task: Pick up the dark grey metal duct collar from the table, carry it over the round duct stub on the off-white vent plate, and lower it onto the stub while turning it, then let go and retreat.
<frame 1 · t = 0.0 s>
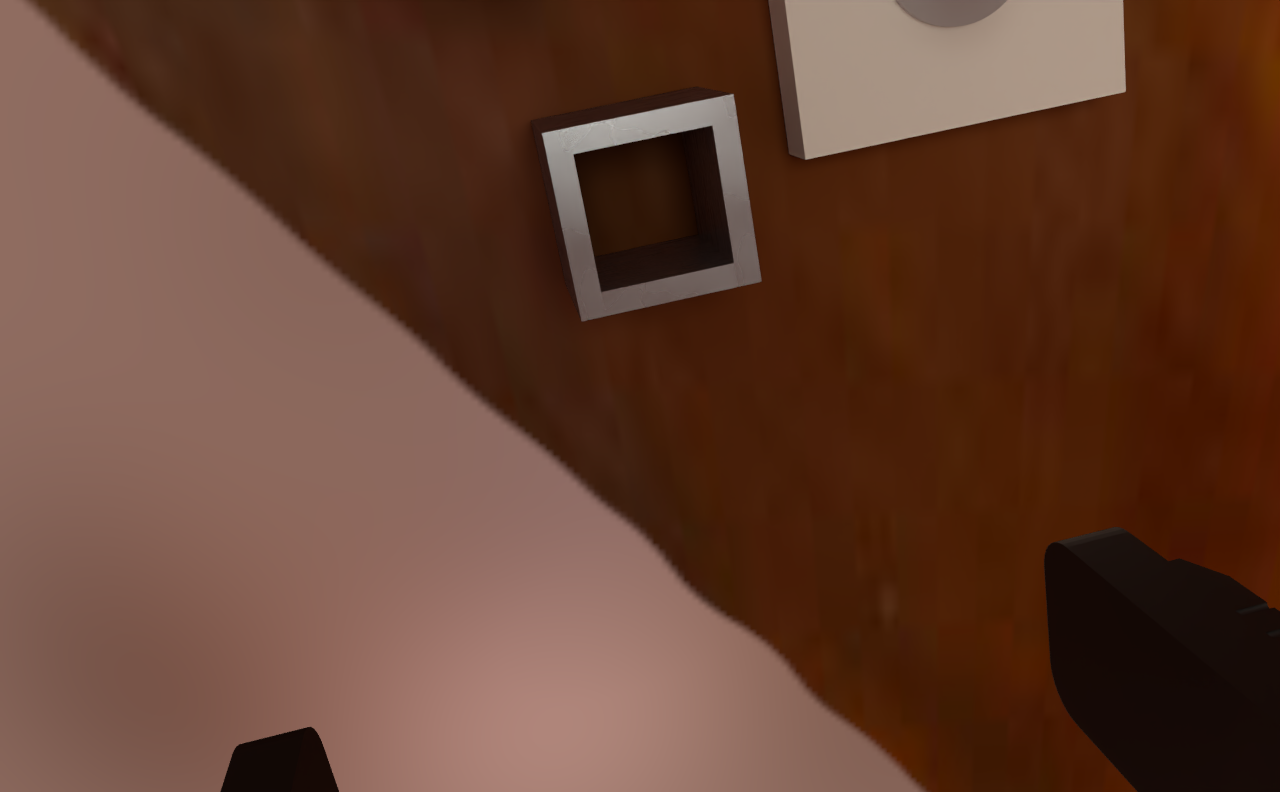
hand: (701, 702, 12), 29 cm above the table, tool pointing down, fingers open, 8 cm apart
collar: (629, 187, 39), on the table
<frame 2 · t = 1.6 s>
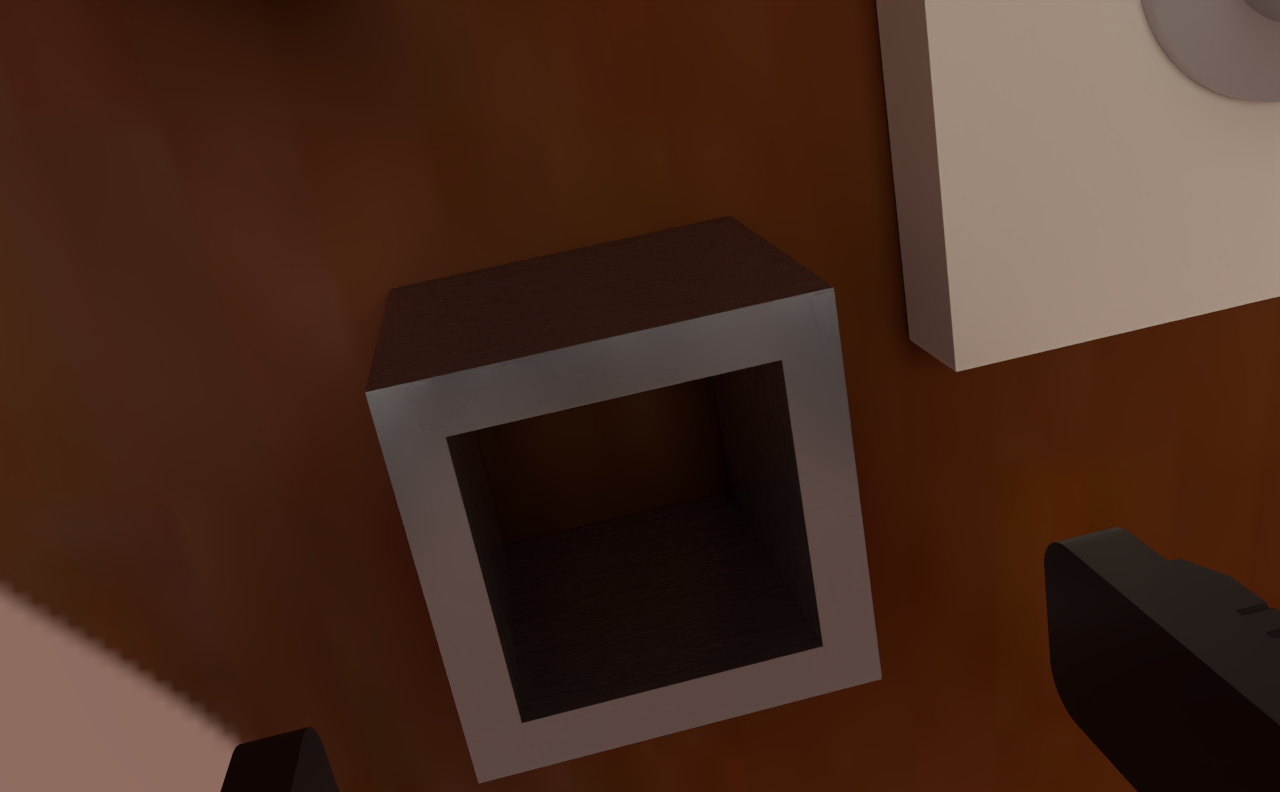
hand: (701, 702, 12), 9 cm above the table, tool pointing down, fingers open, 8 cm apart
collar: (596, 411, 20), on the table
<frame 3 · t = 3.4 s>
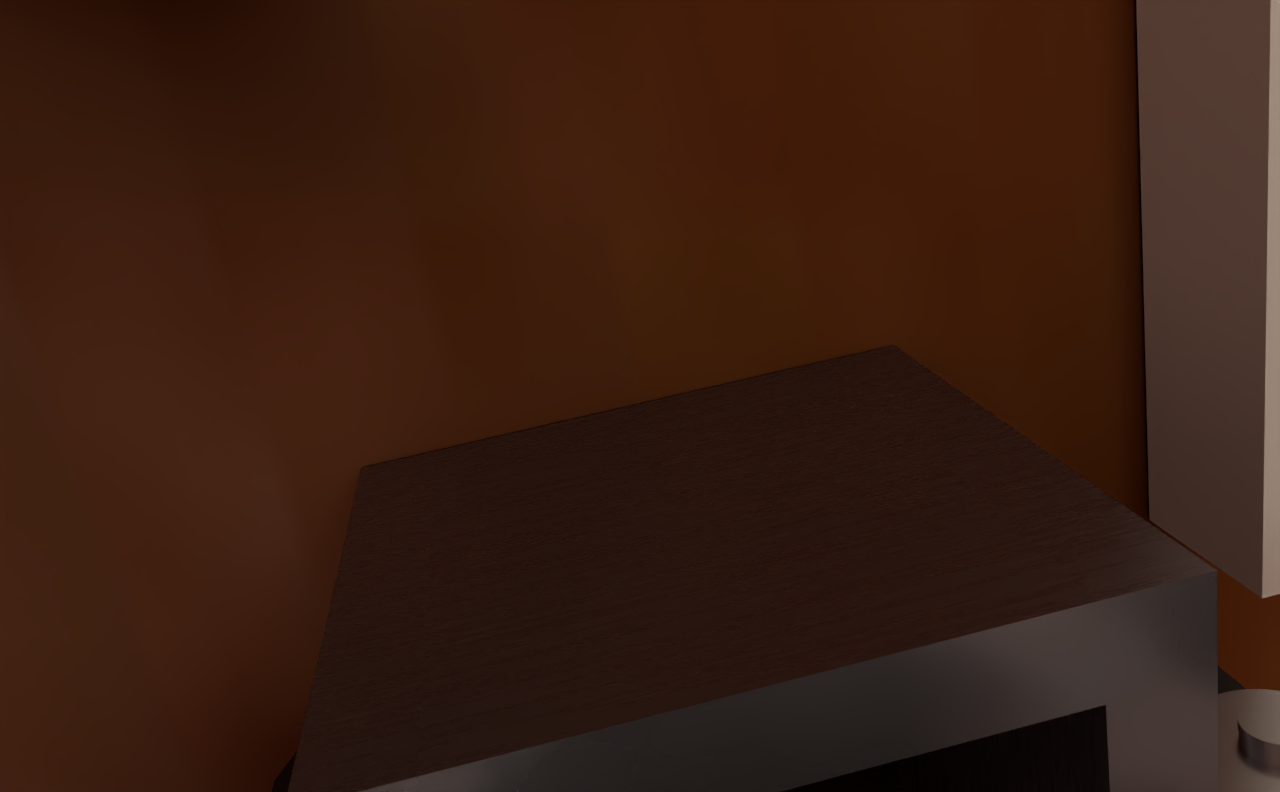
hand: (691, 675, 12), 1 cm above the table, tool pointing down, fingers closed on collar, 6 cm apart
collar: (680, 638, 13), on the table, touching gripper
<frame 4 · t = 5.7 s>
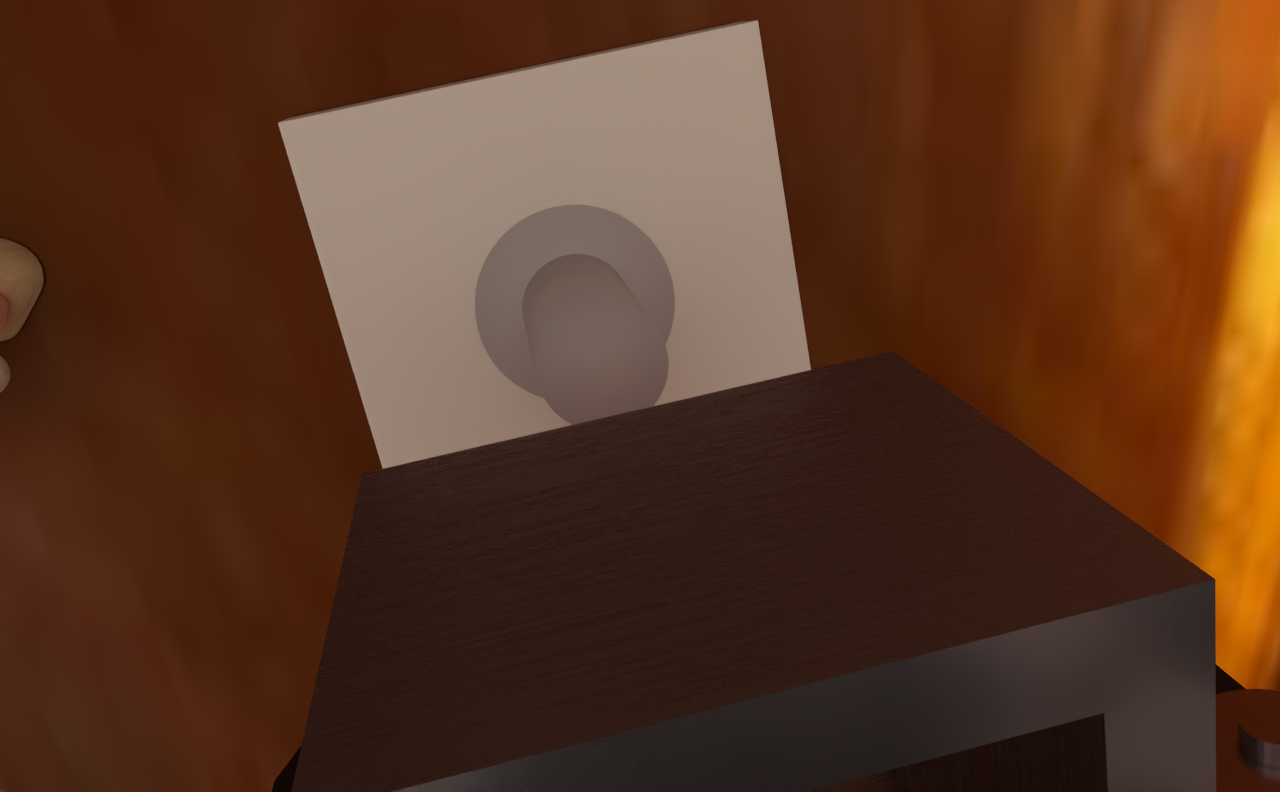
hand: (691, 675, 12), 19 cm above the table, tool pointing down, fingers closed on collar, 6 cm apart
collar: (680, 642, 13), point 19 cm above the table, touching gripper
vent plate: (567, 287, 30), on the table
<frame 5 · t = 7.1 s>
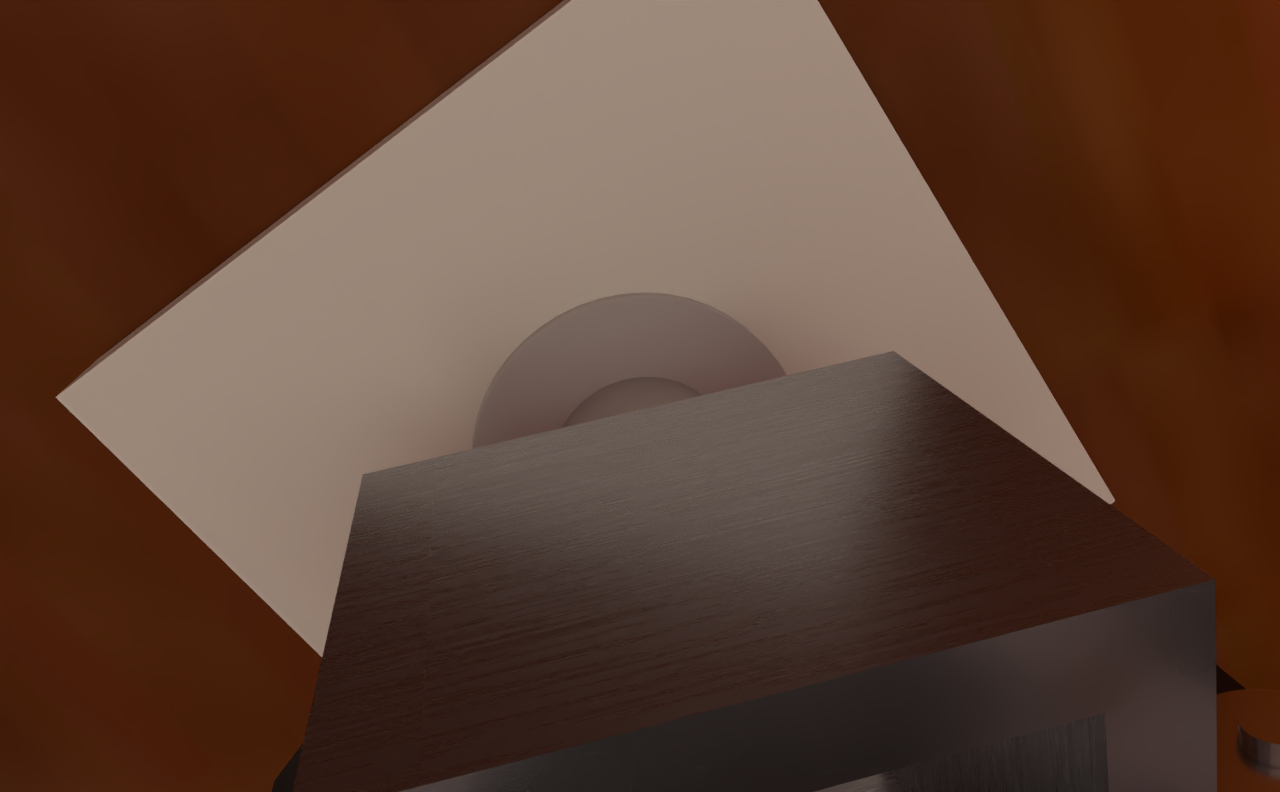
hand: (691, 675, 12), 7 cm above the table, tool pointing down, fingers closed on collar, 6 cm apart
collar: (680, 643, 13), point 7 cm above the table, touching gripper
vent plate: (620, 412, 19), on the table
when the fingers open (5 cm above the table, at t = 8.2 s): collar drops 1 cm, resting on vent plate.
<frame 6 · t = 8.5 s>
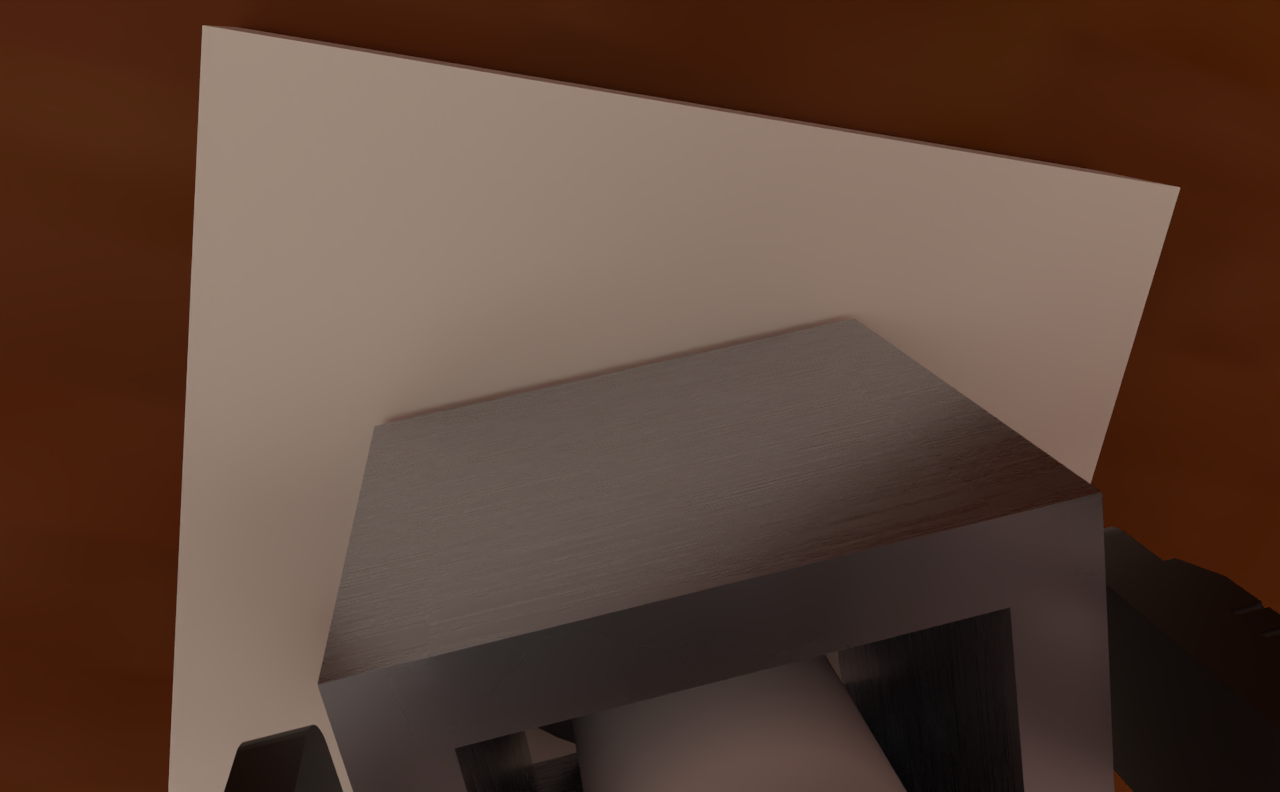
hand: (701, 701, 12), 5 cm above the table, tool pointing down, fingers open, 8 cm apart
collar: (662, 585, 14), point 2 cm above the table, touching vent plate
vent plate: (631, 509, 16), on the table
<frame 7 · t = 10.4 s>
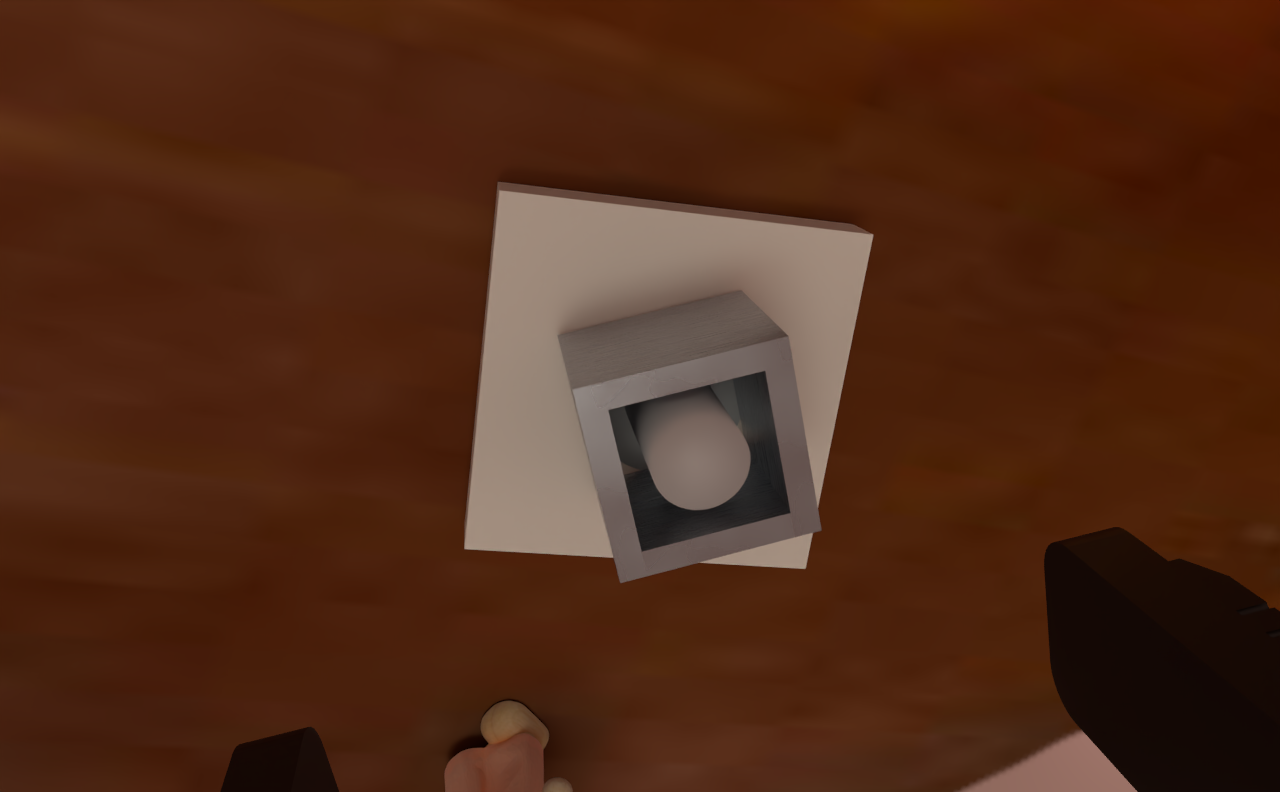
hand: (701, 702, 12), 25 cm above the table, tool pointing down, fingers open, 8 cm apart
collar: (668, 399, 35), point 2 cm above the table, touching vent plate
grandmother figurine: (494, 759, 42), on the table
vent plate: (655, 376, 37), on the table
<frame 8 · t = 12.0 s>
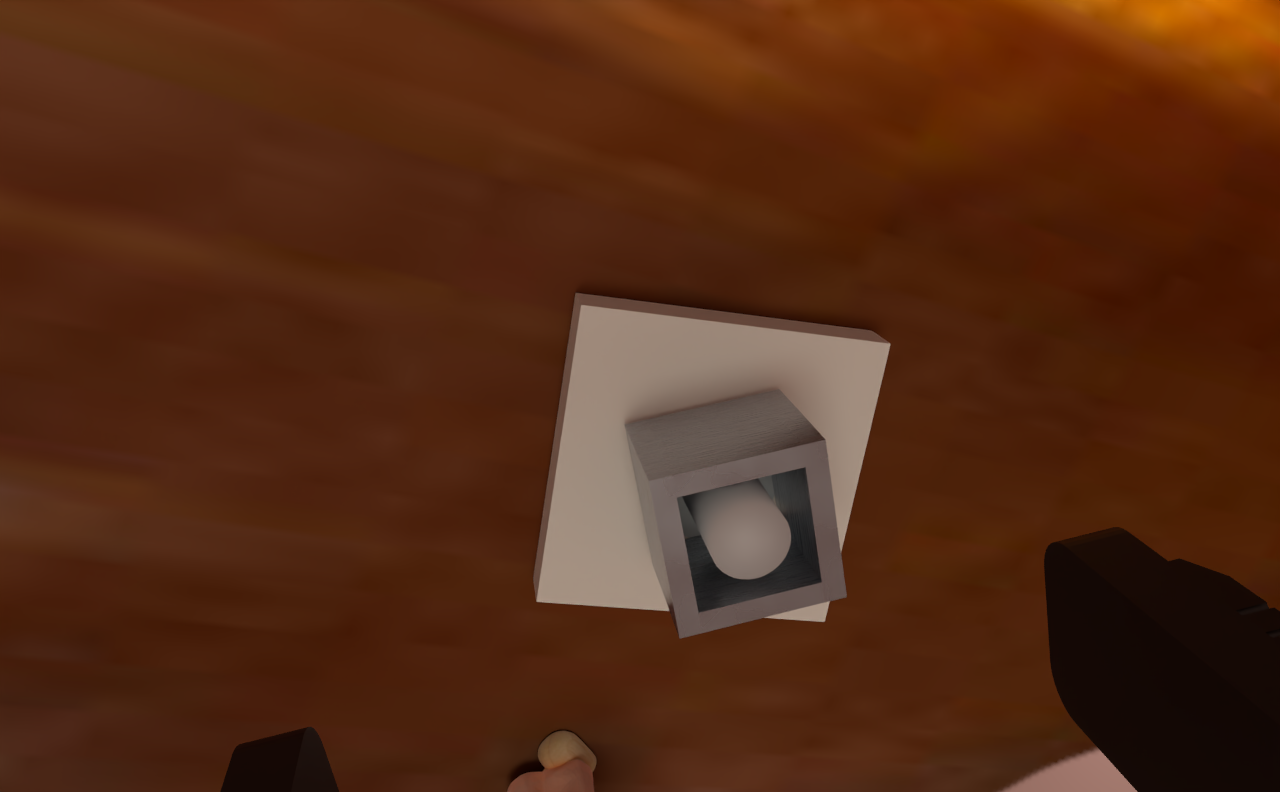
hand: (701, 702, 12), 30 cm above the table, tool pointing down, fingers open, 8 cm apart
collar: (714, 478, 41), point 2 cm above the table, touching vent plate
grandmother figurine: (547, 782, 48), on the table
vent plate: (700, 455, 44), on the table
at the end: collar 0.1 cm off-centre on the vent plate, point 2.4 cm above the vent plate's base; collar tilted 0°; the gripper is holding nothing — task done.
